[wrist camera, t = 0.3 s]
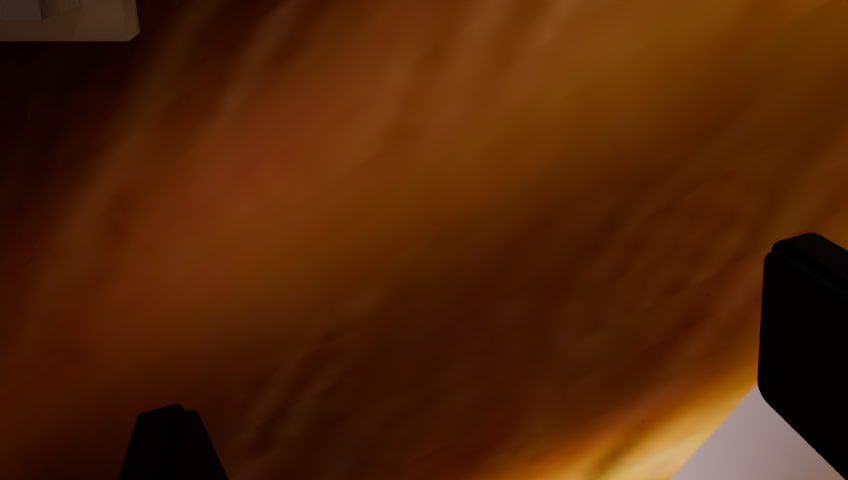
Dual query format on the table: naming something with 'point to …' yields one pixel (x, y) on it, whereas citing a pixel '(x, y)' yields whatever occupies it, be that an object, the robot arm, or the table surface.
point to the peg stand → (79, 24)
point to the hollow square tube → (34, 8)
